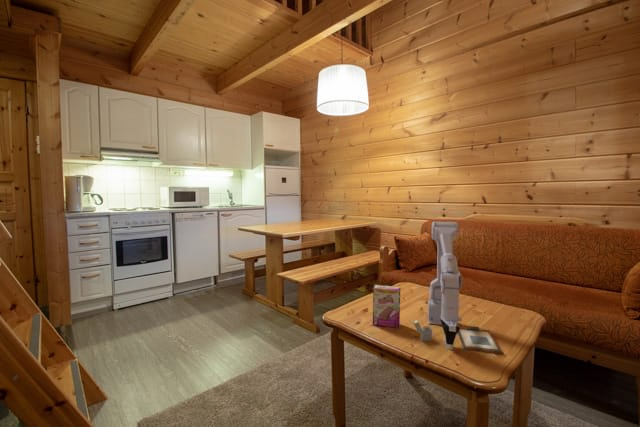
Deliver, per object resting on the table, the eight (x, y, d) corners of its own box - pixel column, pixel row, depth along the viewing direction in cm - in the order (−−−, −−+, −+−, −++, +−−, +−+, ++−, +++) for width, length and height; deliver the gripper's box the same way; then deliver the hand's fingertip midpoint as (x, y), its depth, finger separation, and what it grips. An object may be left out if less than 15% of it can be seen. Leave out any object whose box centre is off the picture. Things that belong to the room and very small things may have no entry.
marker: (445, 349, 108) (445, 326, 107) (443, 344, 110) (444, 322, 110) (454, 350, 107) (454, 327, 106) (452, 345, 110) (453, 323, 109)
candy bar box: (372, 325, 126) (372, 288, 125) (373, 320, 131) (373, 284, 130) (399, 328, 123) (400, 290, 122) (399, 323, 128) (400, 286, 127)
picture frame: (463, 349, 107) (464, 343, 107) (456, 329, 123) (456, 324, 122) (501, 353, 104) (501, 348, 104) (488, 332, 119) (488, 327, 119)
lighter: (429, 338, 115) (430, 318, 115) (432, 340, 114) (432, 320, 113) (412, 340, 114) (412, 319, 113) (414, 342, 112) (415, 321, 112)
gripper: (466, 314, 99) (465, 353, 100) (458, 299, 113) (457, 333, 114) (443, 312, 101) (442, 350, 102) (438, 297, 115) (437, 331, 116)
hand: (449, 341), depth 108 cm, fingers closed on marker, 3 cm apart
